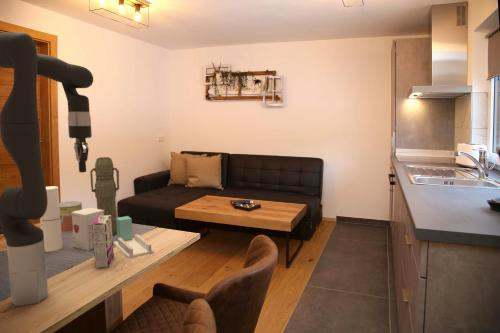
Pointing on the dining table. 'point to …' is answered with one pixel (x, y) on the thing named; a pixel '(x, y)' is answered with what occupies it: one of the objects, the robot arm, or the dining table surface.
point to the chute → (133, 246)
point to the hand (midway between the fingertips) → (82, 172)
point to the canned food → (68, 214)
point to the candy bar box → (103, 241)
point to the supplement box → (84, 227)
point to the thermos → (106, 188)
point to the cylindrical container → (52, 221)
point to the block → (124, 228)
